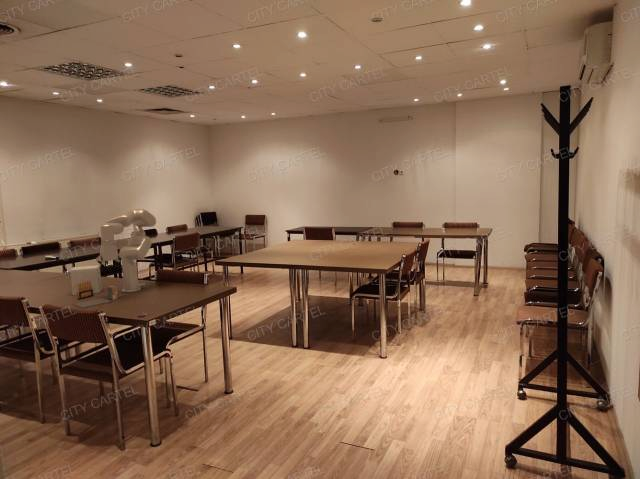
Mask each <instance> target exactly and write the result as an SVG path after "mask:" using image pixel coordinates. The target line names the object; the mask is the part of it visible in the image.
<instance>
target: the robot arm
mask: <svg viewBox="0 0 640 479" xmlns="http://www.w3.org/2000/svg"><path fill="white" fill-rule="evenodd" d="M156 224H157V219H156V217H155V216H154V215H153V214H152V213H151V212H150V211H148V210H147V209H144V208H143V209H139V208H138V209H137V208H135V209H130V210H128V211H126V212H125V213H124V214H122V215H121V216H120V215H119V216H116V217H114V218H111V219H109V220H106V221H104V222H103V223H102V224H101V225H100V237H101V245H100V249H99V255H98V256H97V257H96V258H95V260H96V262H97V263H98V265H99V266H100V271H105V270H106V268H105V264H104V263H105V262H110V261H115V268H116V269H120V262H121V268H122V282H123V288H122V289H121V292H123V293H135V292H138V291H142V287H145V285H146V283H145V282H144V283H143V282H141V283H140V282H139V277H138V266H137V263H136V260H137V261H140V260H144V259H145V258H146V256H147V254H148V252H149V250H150V248H151V247H152V239H151V238H150V237H149V236H148V235H146V232H145V230H144V228H151V227H155V226H156ZM130 226H132V227H133V228H132V229H133V232H132V233H131V236H130V238H129V239H128V242H127V246H123V247H122V248H120V250H119V252H118V248H117V245H116V243H117V240H115V235H121V234H122V233H123V232H124V230H125V228H128V227H130Z"/></svg>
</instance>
